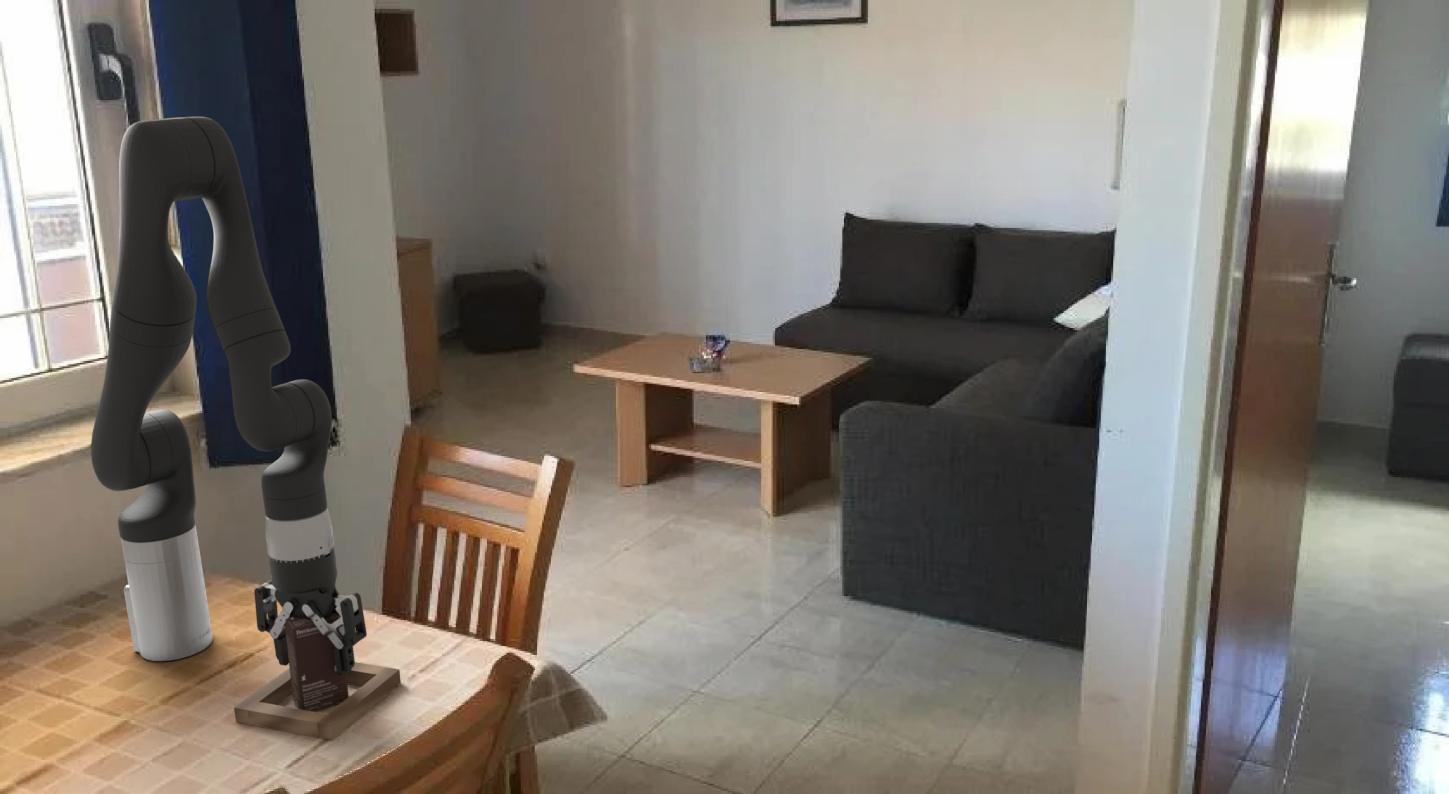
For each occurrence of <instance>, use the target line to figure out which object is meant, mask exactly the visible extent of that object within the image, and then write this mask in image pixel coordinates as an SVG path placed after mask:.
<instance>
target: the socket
mask: <svg viewBox="0 0 1449 794" xmlns="http://www.w3.org/2000/svg"><path fill="white" fill-rule="evenodd" d="M346 675H347V685H355V686H361V687H360V688H358V689H357V690H356V691H354V692H353V693H352V694H351V695H350V696H349V697H348V698H347V699H346V700H345V701H343V702H342V703H339V704H337V705H336V706H335V708H333V709H332V710H331V711H329V712H328V713H322V712H317V711H307V710H302V709H298V708H297V707H296V708H295V707H290V706H283V705H279V703H281V702H282V701H284V700H285V699H286V698H287V697H289V696H290V695H291V694H292V695H293V692H292V684H291V676H290V667H289V668H287V669H286V670H284V671H283V672H281V674H279V675H277V676H276V677H275V678H273V679H272V680H270V681H269V682H268V683H266V684H265V685H263V686H262V687H261V688H259V689H258V690H256V691H255V692H254V693H252V694H251V695H250V696H247V697H246V698H245V699H244V700H243V701H241V702H239V703H238V704H237V705H235V706H234V707H233V712H234V717H235V723H238V724H243V725H249V726H255V727H259V728H266V729H270V730H276V731H281V732H287V733H291V734H296V735H297V734H298V735H302V736H307V737H313V738H319V739H323V740H329V741H334V740H335V739H337V738H338V737H339V736H340V735H341V734H343V733H344V732H345V731H346V730H347V729H348V728H350V727H351V726H352V725H354V723H356V722H357V721H358V720H359V719H360V718H361V717H363V716H364V715H365V714H366V713H367V712H369V711H370V710H371V709H372V708H374V707H375V706H376V705H377V704H378V703H379V702H381V701H382V700H383V699H385V697H386V696H387V695H389V694H390V693H391V692H392V691H394V690H395V689H396V688H397V687H399V686H400V685H401V684H402V682H401V673H400V668H395V667H394V668H392V667H386V666H380V665H374V664H368V663H361V662H356V661H355V664H354V667H352V669H351V670H350V671H349V672H348V673H347V674H346Z"/></svg>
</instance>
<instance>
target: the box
mask: <svg viewBox="0 0 1449 794" xmlns="http://www.w3.org/2000/svg"><path fill="white" fill-rule="evenodd" d="M340 617H341V615H337V614H332V616H331V617H329V618H328V619H327V620H326V622H327V623H328V624H332V623H334V622H335V621H336V620H338V619H339V618H340ZM336 631H337V632H338V633H339V635H340V636H342V634H341V633H340V631H339V630H338V628H336ZM285 633H286V641H287V650H288V658H289V664H288V665H289V668H290V676H291V684H292V692H293V693H292V699H293V702H294V703H293V704H294V705H295V706H296V709H302V710H307V711H313V712H317V711H319V710H323V709H325V708H329V707H332V706H335V705H340V704H341V703H342V702H343V701H345V700H346V699H347V698H348V697H349V687H348V685H349V684H348V683H347V675H346V674H345V675H344V676H343V675H338V674H337V670H336V661H335V653H334V648H336V647H335V645H334V644H333V643H332V641H331V640H330V639H329V637H328V636H324V635H323V634H322V633H321V632H320V630H319V629H318V628H317V626H316V625H315V624H314V622H313V621H312V620H308V619H303V618H298V617H292V616H291V617H289V618H288V619H286V622H285Z"/></svg>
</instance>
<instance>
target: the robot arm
mask: <svg viewBox="0 0 1449 794" xmlns="http://www.w3.org/2000/svg"><path fill="white" fill-rule="evenodd" d="M122 137H123V138H122V141H121V145H120V150H119V161H118V162H119V166H118V169H119V170H118V184H119V186H118V187H119V196H118V197H119V229H118V230H119V233H118V235H119V237H118V249H117V250H118V251H117V259H116V261H117V262H116V272H115V282H114V288H113V289H114V290H113V295H112V301H111V312H110V319H109V320H110V321H109V337H108V350H107V356H106V357H107V358H106V367H105V374H104V379H103V384H102V385H103V386H102V391H101V394H100V398H99V402H98V407H97V411H96V415H95V420H94V425H93V429H92V435H91V442H90V456H91V457H90V458H91V465H92V468H93V470H94V474H95V475H96V478H97V479H98V481H99V482H100V484H101V485H102V486H103V487H105V488H106V489H108V490H111V491H115V492H123V491H128V490H133V489H138V488H141V487H145V486H147V487H146V489H145V490H144V491H143V493H142V494H141V495H140V496H139V497H138V498H137V499H136V500H135V501H134V502H133V503H131V504H130V505H129V506H127V507H126V508H125V509H124V510H123V511H121V513H120V514H119V516H118V519H117V527H118V533H119V537H120V542H121V547H122V554H123V559H124V565H125V571H126V577H127V583H128V584H126V585H125V586H124V587H123V594H124V599H125V606H126V613H127V616H128V622H129V623H128V624H129V630H130V634H131V635H130V636H131V640H132V647H133V652H137V653H139V654H140V656H141V657H142V658H143V659H146V660H148V661H153V662H166V661H167V662H168V661H175V660H180V659H184V658H186V657H191V656H194V655H195V654H198V653H200V652H202V651H203V650H206V649H207V648H208V647H209V645H211V644H212V641H213V633H212V626H211V618H210V611H209V603H208V598H207V591H206V586H205V585H206V583H205V578H204V577H205V576H204V571H203V566H202V557H201V553H200V546H199V539H198V532H197V527H196V526H197V525H196V519H195V512H196V505H197V501H196V500H197V499H196V498H197V497H196V489H195V480H194V469H193V455H192V448H191V442H190V438H189V434H188V432H187V428H186V427H185V425H184V423H183V421H182V419H180V417H179V416H178V415H177V414H176V413H174V412H173V411H172V410H169V409H154V410H150V411H147V409H148V407H149V405H150V404H151V400H152V399H153V398H154V397H155V395H156V394H157V392H159V390H160V388H161V387H162V386H163V385H164V383H166V381H167V380H168V378H169V377H170V376H171V375H172V374H173V372H174V371H175V370H176V368H177V367H178V365H180V363H181V362H182V360H183V358H184V357H185V355H186V353H187V352H188V350H189V347H190V345H191V343H192V342H191V341H192V338H193V331H194V327H195V326H194V325H195V320H196V319H195V318H196V312H197V305H198V303H197V299H198V297H197V293H196V288H195V286H194V284H193V281H192V279H191V278H190V276H189V274H188V272H187V271H186V269H185V268H184V266H183V265H182V263H181V262H180V260H179V259H178V257H177V256H176V254H175V252H174V250H173V248H172V246H171V244H170V241H169V216H170V211H171V207H172V205H173V203H174V202H179V201H186V200H193V199H194V200H195V199H202V201H203V203H204V205H205V208H206V210H207V212H208V214H209V217H210V220H211V225H212V230H213V248H212V249H213V250H212V257H211V263H210V268H209V274H208V281H207V291H206V292H207V293H206V294H207V295H206V296H207V306H208V310H209V315H210V318H211V320H212V323H213V325H214V328H215V331H216V333H217V336H218V338H219V341H220V344H221V346H222V348H223V350H224V353H225V356H226V358H227V361H228V368H229V376H230V377H229V378H230V385H231V394H232V403H233V404H232V405H233V414H234V421H235V424H236V426H237V427H236V428H237V430H238V432H239V434H240V436H241V437H242V438H243V440H244V441H245V442H246V443H247V444H248V445H250V447H251V448H253V449H255V450H256V451H261V452H274V451H276V450H280V449H282V448H283V449H284V450H283V452H282V454H281V456H280V457H279V458H278V459H277V460H275V461H274V462H273V463H271V464H269V466H267V467H266V468H265V469H264V470H263V472H262V474H261V481H260V483H261V491H262V498H263V499H262V501H263V507H264V515H265V539H266V547H267V556H268V561H269V570H270V577H271V579H270V580H267V581H266V582H265V583H262V584H261V585H260V586H257V587H255V588H254V592H253V593H254V603H255V615H256V616H255V617H256V628H257V630H258V631H259V632H261V633H264V632H266V633H269V635H270V637H271V638H272V639H273V644H274V645H273V646H274V651H275V657H276V660H277V661H278V664H279V665H280V666H287V665H289V658H288V650H287V641H286V633H285V622H286V619H288V618H289V617H291V616H292V617H298V618H303V619H308V620H312V621H313V622H314V624H315V625H316V626H317V628H318V629H319V630H320V632H321V633H322V634H323V635H324V636H328V637H329V639H330V640H331V641H332V643H333V644H334V645H335V647H336V648H334V653H335V661H336V670H337V674H338V675H343V676H344V675H345V674H347V673H348V672H349V671H350V670H351V669H352V667H354V664H355V662H356V660H355V653H354V646H356V645H357V644H358V643H359V642H361V641H362V640H363V639H365V638H366V637H367V636H368V633H367V626H366V621H365V615H364V609H363V603H362V597H361V595H360V593H358V592H353V593H352V594H350V595H346V594H345V595H343V594H340V593H339V592H338V590H337V588H336V583H337V582H336V581H337V578H338V568H337V567H338V566H337V558H336V550H335V541H334V533H333V525H332V520H331V517H330V513H329V508H328V501H327V499H328V498H327V491H326V483H325V477H324V476H325V475H324V474H325V470H326V463H327V460H328V459H327V458H328V451H329V445H330V439H331V434H332V433H331V432H332V423H333V415H332V413H333V412H332V409H331V404H330V401H329V398H328V397H327V394H326V393H325V391H324V390H323V389H322V387H321V386H319V385H318V383H315V382H314V381H312V380H309V379H304V378H303V379H295V380H292V381H288V382H284V383H281V384H278V385H275V386H273V384H272V368H273V367H274V366H276V365H278V364H280V363H282V362H283V361H284V360H286V359H287V358H289V356H290V354H291V351H292V350H291V349H292V348H291V343H290V340H289V336H288V335H287V332H286V330H285V327H284V324H283V322H282V319H281V317H280V314H279V312H278V309H277V307H276V304H275V301H274V299H273V296H272V294H271V292H270V289H269V286H268V283H267V279H266V277H265V274H264V271H263V266H262V264H261V263H262V262H261V258H260V255H259V249H258V247H257V246H258V245H257V241H256V236H255V232H254V226H253V223H252V218H251V213H250V208H249V203H248V201H247V196H246V191H245V188H244V187H245V186H244V183H243V178H242V173H241V169H240V166H239V165H240V164H239V163H238V159H237V155H236V151H235V150H234V149H235V148H234V147H233V144H232V142H231V140H230V138H229V136H228V134H227V132H226V131H225V129H224V128H223V127H222V126H221V125H220V124H219V122H217V121H216V120H214V119H212V118H210V117H206V116H185V117H182V116H181V117H168V118H157V119H156V118H155V119H145V120H140V121H137V122H133V123H132V124H131V125H130V126H129V127H128V128H127V129H126V131H125V132H124V134H123V136H122ZM146 411H147V412H146ZM278 603H279V604H278ZM278 605H280V607H281V611H280V612H279V613H278ZM332 614H337V615H341V617H340V618H339V619H338V620H336V621H335V622H334V623H332V624H328V623H327V622H326V620H327V619H328V618H329V617H331V616H332ZM336 628H338V630H339V631H340V633H341V634H342V636H340V635H339V633H338V632H337V631H336Z"/></svg>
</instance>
